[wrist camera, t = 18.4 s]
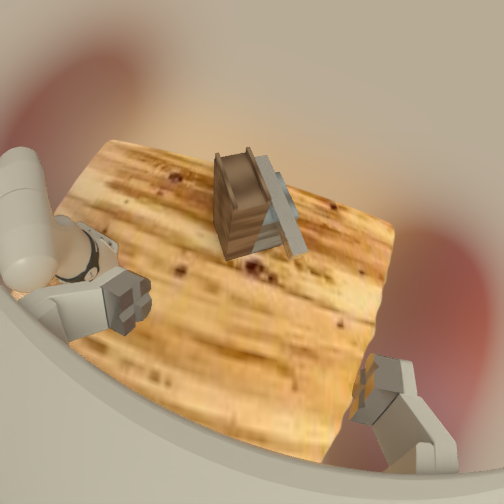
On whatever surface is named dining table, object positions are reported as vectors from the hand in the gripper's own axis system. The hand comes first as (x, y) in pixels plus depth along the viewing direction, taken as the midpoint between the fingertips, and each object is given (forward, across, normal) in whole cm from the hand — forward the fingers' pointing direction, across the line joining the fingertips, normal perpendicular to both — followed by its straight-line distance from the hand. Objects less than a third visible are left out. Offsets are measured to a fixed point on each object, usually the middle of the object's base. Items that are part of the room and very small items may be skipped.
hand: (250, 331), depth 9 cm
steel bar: (+46, -9, -8) cm, 48 cm away
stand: (+56, -18, -20) cm, 62 cm away
